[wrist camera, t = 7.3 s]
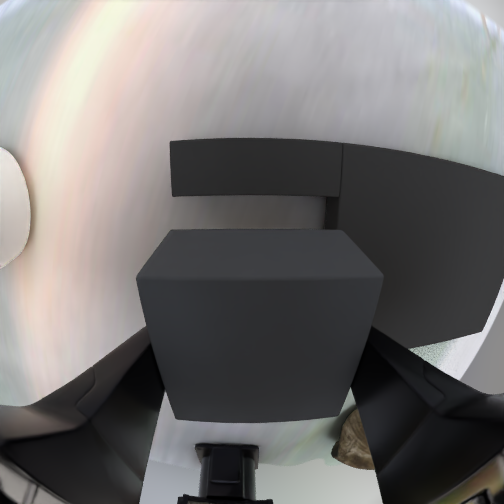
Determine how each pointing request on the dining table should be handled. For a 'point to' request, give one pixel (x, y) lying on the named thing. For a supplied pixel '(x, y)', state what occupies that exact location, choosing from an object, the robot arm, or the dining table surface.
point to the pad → (258, 321)
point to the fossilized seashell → (353, 444)
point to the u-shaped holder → (379, 220)
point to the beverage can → (12, 209)
